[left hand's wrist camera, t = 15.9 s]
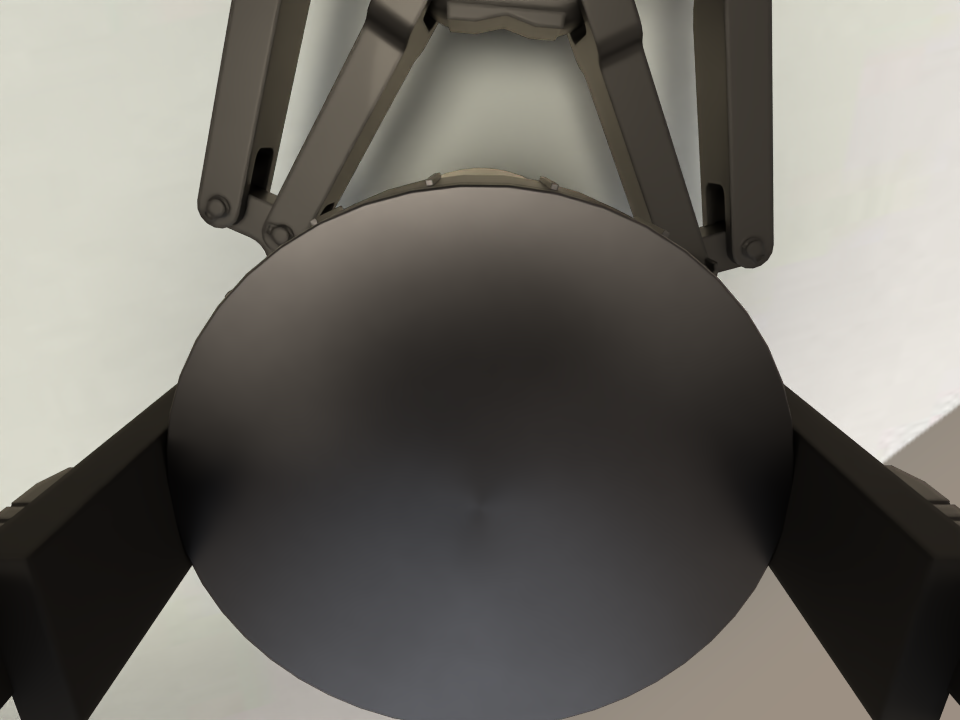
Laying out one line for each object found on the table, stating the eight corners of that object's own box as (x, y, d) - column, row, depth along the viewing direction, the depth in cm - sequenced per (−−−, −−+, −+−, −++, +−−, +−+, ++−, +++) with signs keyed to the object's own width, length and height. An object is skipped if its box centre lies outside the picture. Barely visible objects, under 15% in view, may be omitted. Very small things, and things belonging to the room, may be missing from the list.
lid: (123, 280, 11) (31, 317, 9) (683, 87, 10) (745, 71, 8) (341, 677, 15) (315, 777, 12) (774, 569, 13) (835, 657, 11)
